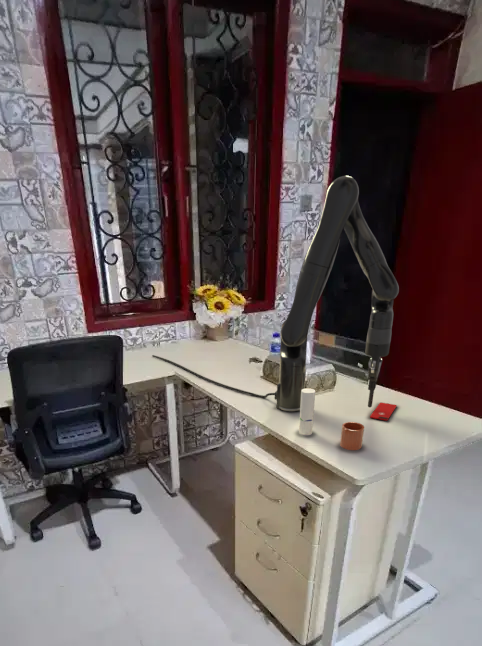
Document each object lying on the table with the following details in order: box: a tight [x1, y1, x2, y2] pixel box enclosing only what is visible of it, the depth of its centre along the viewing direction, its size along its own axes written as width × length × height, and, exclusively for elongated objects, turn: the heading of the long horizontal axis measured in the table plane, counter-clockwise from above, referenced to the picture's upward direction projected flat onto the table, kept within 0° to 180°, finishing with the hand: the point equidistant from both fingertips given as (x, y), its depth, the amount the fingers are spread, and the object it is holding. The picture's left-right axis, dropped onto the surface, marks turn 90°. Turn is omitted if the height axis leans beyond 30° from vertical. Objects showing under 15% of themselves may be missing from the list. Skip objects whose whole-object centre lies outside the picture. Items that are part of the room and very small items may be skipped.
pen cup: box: [339, 421, 365, 451], centre depth 125 cm, size 6×6×7 cm
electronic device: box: [369, 402, 398, 422], centre depth 148 cm, size 6×1×15 cm
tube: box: [298, 387, 316, 436], centre depth 133 cm, size 4×4×15 cm
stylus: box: [367, 376, 375, 408], centre depth 147 cm, size 1×1×12 cm
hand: (371, 389), depth 147 cm, fingers closed on stylus, 1 cm apart
